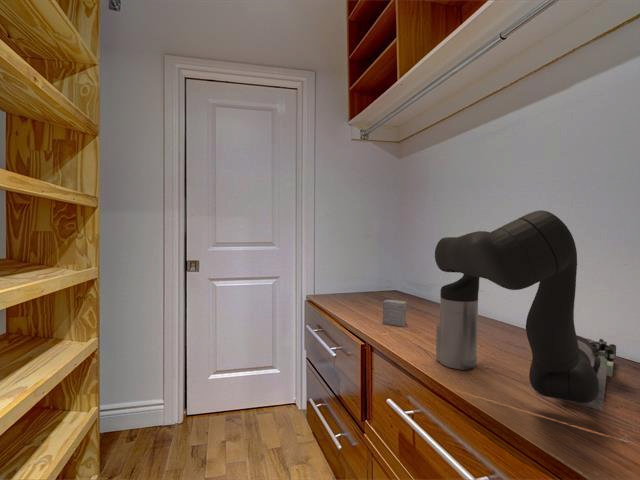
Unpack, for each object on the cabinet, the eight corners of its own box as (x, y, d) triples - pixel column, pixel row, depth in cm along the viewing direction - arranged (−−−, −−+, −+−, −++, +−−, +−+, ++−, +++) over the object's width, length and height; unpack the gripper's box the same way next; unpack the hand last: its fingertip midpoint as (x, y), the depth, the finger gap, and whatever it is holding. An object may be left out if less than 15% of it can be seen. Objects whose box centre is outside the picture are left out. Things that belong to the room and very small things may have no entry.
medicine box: (406, 324, 132) (407, 301, 132) (402, 327, 128) (403, 303, 128) (386, 321, 136) (386, 299, 136) (382, 324, 132) (382, 301, 132)
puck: (598, 372, 87) (598, 360, 87) (578, 367, 90) (578, 356, 90) (601, 368, 90) (602, 356, 90) (582, 364, 93) (582, 352, 93)
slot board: (602, 412, 69) (602, 400, 68) (536, 394, 76) (536, 384, 76) (608, 364, 94) (608, 355, 94) (559, 354, 101) (559, 346, 101)
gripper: (615, 346, 73) (617, 330, 85) (535, 332, 82) (547, 319, 94) (614, 382, 73) (616, 361, 85) (534, 364, 82) (546, 347, 94)
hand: (579, 339), depth 90 cm, fingers open, 8 cm apart
